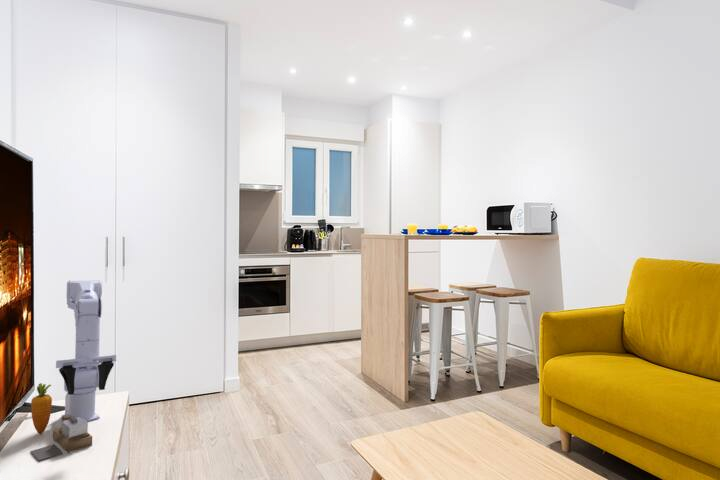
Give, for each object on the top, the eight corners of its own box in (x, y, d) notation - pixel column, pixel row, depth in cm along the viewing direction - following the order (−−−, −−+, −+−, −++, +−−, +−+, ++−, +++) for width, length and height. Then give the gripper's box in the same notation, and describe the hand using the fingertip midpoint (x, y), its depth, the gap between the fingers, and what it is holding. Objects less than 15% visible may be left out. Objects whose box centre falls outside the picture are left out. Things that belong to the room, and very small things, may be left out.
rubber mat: (30, 452, 120) (30, 451, 120) (54, 445, 124) (54, 444, 124) (38, 461, 115) (39, 460, 115) (63, 454, 119) (63, 452, 119)
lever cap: (61, 433, 125) (61, 418, 125) (79, 428, 129) (79, 414, 129) (69, 440, 122) (69, 425, 122) (87, 435, 125) (87, 420, 125)
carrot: (32, 432, 131) (34, 381, 131) (52, 429, 133) (54, 379, 133) (27, 439, 126) (29, 386, 126) (48, 437, 128) (50, 385, 128)
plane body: (52, 438, 128) (53, 417, 128) (76, 431, 132) (76, 411, 132) (67, 452, 120) (68, 430, 120) (92, 445, 125) (92, 423, 125)
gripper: (63, 342, 117) (61, 396, 114) (121, 338, 128) (120, 387, 126) (53, 344, 121) (52, 396, 119) (110, 340, 133) (110, 387, 130)
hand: (86, 392), depth 122 cm, fingers open, 7 cm apart
